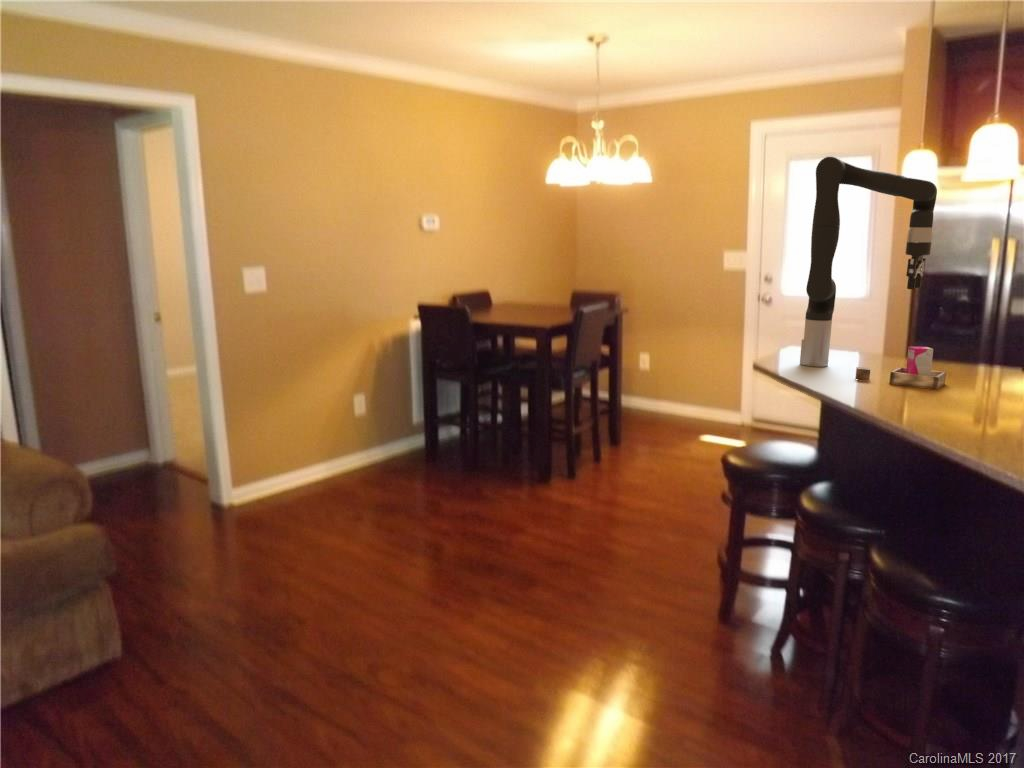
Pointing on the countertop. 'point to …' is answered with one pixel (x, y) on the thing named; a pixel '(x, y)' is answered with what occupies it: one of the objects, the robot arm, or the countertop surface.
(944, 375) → the crate
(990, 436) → the countertop surface
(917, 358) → the supplement box
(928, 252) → the robot arm
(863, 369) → the walnut block
